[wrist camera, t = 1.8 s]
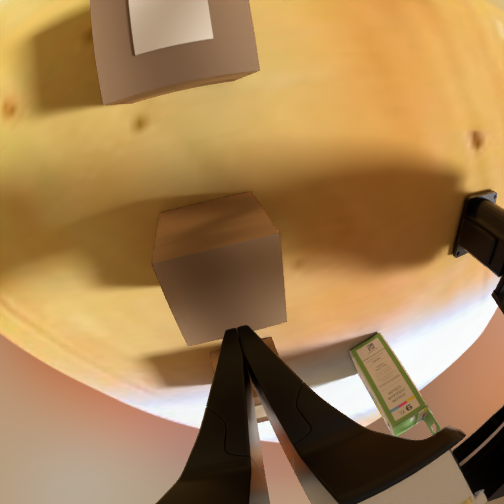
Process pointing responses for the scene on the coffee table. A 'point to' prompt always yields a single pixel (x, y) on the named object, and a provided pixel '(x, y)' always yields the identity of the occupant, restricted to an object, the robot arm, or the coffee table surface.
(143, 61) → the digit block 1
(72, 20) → the coffee table surface
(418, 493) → the robot arm
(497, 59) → the coffee table surface
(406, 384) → the ink box
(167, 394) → the coffee table surface
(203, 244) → the plain block
